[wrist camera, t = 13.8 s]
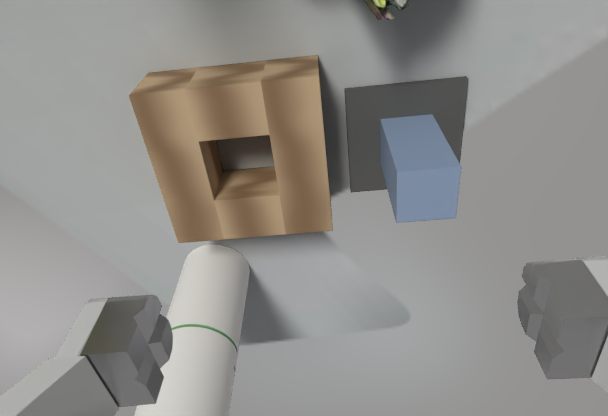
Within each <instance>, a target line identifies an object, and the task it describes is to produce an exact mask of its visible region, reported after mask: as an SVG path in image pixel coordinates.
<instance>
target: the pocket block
mask: <svg viewBox="0 0 608 416" xmlns="http://www.w3.org/2000/svg"><path fill="white" fill-rule="evenodd" d="M129 97H130V100H131V103H132V106H133V109H134V112H135V115H136V118H137V121H138V124H139V127H140V130H141V133H142V136H143V139H144V142H145V145H146V148H147V151H148V154H149V157H150V160H151V163H152V166H153V168H154V171H155V174H156V177H157V180H158V183H159V186H160V189H161V192H162V195H163V198H164V201H165V204H166V207H167V210H168V213H169V216H170V219H171V222H172V225H173V228H174V231H175V234H176V237H177V240H178V243H185V242H197V241H210V240H222V239H235V238H247V237H259V236H272V235H284V234H297V233H309V232H322V231H332V230H333V228H332V215H331V200H330V188H329V177H328V166H327V155H326V144H325V132H324V121H323V110H322V99H321V87H320V76H319V65H318V55H314V56H304V57H295V58H285V59H276V60H267V61H257V62H248V63H238V64H229V65H219V66H210V67H200V68H191V69H182V70H172V71H163V72H153V73H148V74H147V75H146V76H145V77H144V79H143V80H142V81H141V82H140V83H139V84H138V86H137V87H136V88H135V89H134V90H133V91H132V92H131V94H130V95H129ZM262 135H270V141H271V147H272V153H273V159H274V167H263V168H252V169H241V170H230V171H223V169H222V165H221V161H220V157H219V153H218V148H217V144H216V140H220V139H231V138H241V137H252V136H262Z"/></svg>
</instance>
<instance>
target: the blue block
mask: <svg viewBox="0 0 608 416" xmlns="http://www.w3.org/2000/svg"><path fill="white" fill-rule="evenodd" d="M380 133H381V167H382V170H383V174H384V178H385V182H386V185H387V189H388V192H389V197H390V200H391V204H392V208H393V211H394V216H395V219H396V222H397V223H399V222H413V221H426V220H438V219H452V218H456V212H457V202H458V194H459V184H460V175H461V165H460V164H459V162H458V160H457V158H456V156H455V154H454V153H453V151H452V149H451V147H450V145H449V144H448V142H447V140H446V138H445V136H444V134H443V133H442V131H441V129H440V127H439V125H438V124H437V122H436V120H435V118H434V116H433V115H432V114H430V115H419V116H408V117H397V118H386V119H380Z"/></svg>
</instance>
